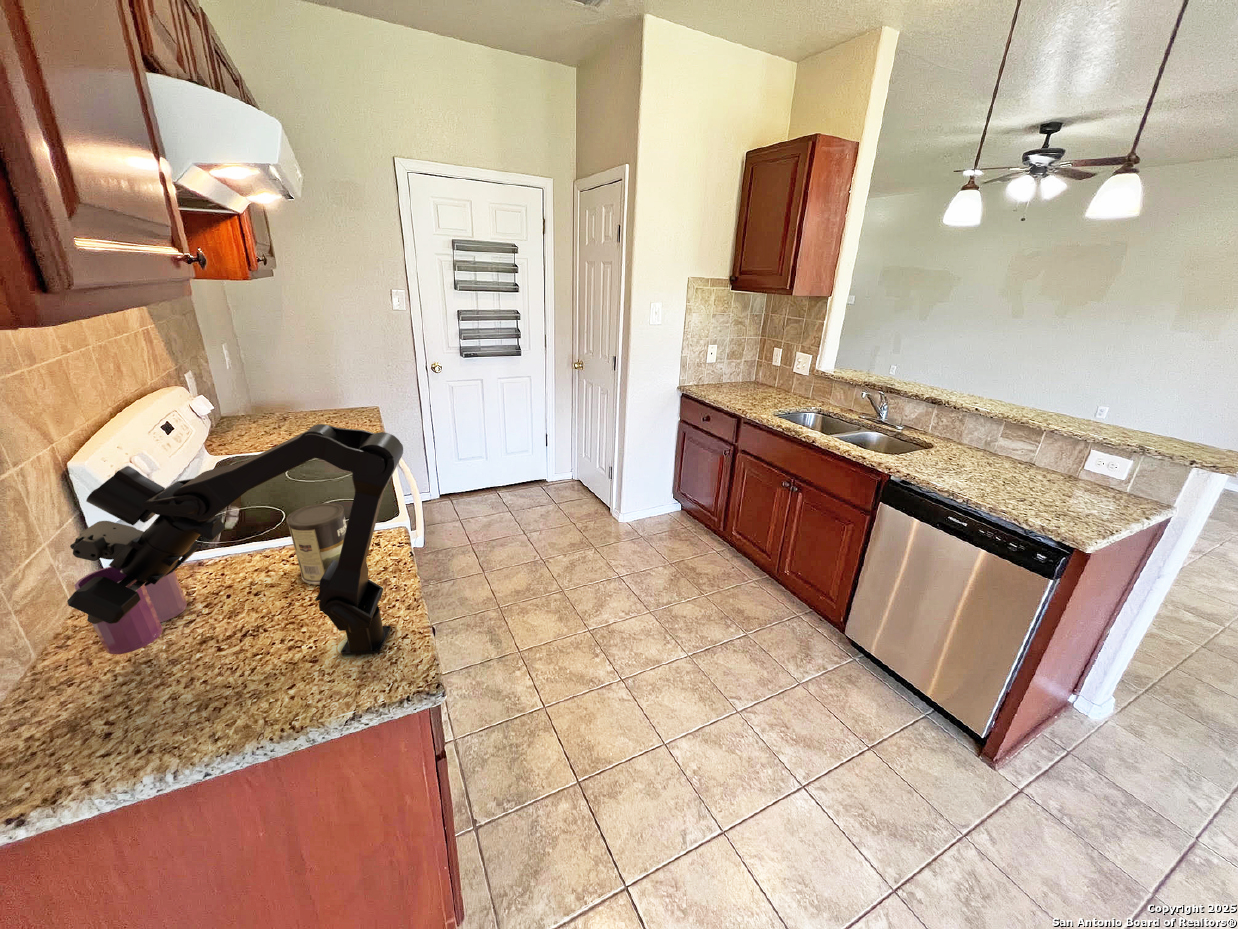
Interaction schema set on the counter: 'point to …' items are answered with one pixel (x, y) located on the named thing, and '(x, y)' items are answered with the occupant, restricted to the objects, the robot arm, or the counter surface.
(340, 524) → the coffee can
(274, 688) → the counter surface
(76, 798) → the counter surface
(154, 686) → the counter surface
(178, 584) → the lavender cup
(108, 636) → the plum cup
